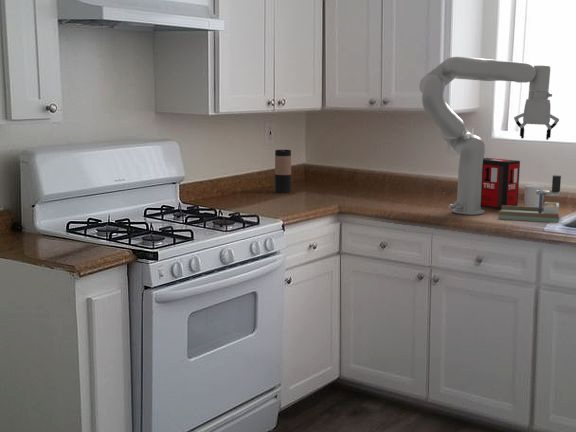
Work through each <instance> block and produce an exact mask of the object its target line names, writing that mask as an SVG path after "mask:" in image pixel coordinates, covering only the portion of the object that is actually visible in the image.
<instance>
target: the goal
mask: <svg viewBox="0 0 576 432" xmlns="http://www.w3.org/2000/svg"><path fill="white" fill-rule="evenodd" d="M543 202H544V201H543ZM547 205H554V206H547ZM543 207H544V213H547V214H559V215H560V211H559V210H560V202H550V201H549V202H548V201H545V202H544V205H543Z"/></svg>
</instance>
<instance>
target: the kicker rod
mask: <svg viewBox="0 0 576 432" xmlns="http://www.w3.org/2000/svg"><path fill="white" fill-rule="evenodd" d="M561 179H562V175H558V174H554V175H552V180H551V181H552V184H551V190H545V189H544V190H537V191H536V194H537V195H540V196H539V213H542V207H543V202H544V196H552V197H553V196H556V197H557V196H559V195H560V193H561ZM543 195H544V196H543Z"/></svg>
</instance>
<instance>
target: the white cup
mask: <svg viewBox="0 0 576 432" xmlns="http://www.w3.org/2000/svg"><path fill="white" fill-rule="evenodd" d="M537 190H544V191H545V185H541V184H540V185H539V184H525V185H524V206H527V207H539V196H540V195H537V194H536V191H537ZM544 196H545V195H543V197H544Z"/></svg>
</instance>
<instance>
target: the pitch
mask: <svg viewBox="0 0 576 432" xmlns="http://www.w3.org/2000/svg"><path fill="white" fill-rule="evenodd" d="M559 217H560V213H559V214H547V213H544V206H542V213H539V207H527V206H525V205H524V206H523V205H521V206H520V205H518V206H508V205H502V208H501V209H500V210H499V211H498V220H510V219H512V220H513V221H530V222H543V223H545V222H546V223H548V222H549V223H558V222H559Z"/></svg>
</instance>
